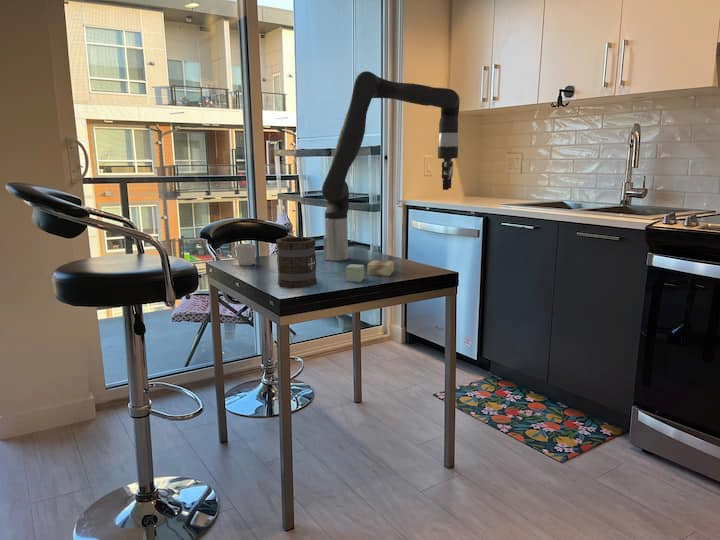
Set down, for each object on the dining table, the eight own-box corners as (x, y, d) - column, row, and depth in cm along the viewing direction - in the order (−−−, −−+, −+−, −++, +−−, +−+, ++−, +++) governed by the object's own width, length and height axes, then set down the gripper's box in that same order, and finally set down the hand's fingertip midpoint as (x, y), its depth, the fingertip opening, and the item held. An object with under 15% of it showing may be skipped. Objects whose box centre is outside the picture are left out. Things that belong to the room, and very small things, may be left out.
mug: (312, 289, 168) (311, 243, 165) (272, 288, 170) (270, 242, 167) (324, 275, 187) (323, 234, 184) (287, 274, 189) (285, 233, 186)
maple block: (367, 275, 188) (367, 264, 187) (373, 270, 196) (373, 260, 195) (389, 276, 186) (389, 265, 185) (394, 271, 193) (394, 261, 193)
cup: (226, 265, 206) (225, 245, 205) (238, 261, 214) (237, 242, 212) (249, 267, 202) (248, 247, 201) (260, 263, 210) (259, 243, 208)
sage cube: (346, 281, 179) (346, 267, 177) (350, 278, 183) (350, 264, 182) (360, 282, 177) (360, 267, 176) (364, 278, 182) (364, 264, 181)
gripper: (440, 146, 203) (439, 188, 206) (435, 145, 190) (434, 190, 193) (459, 145, 201) (458, 188, 204) (456, 145, 188) (455, 190, 191)
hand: (446, 189), depth 199 cm, fingers open, 8 cm apart
